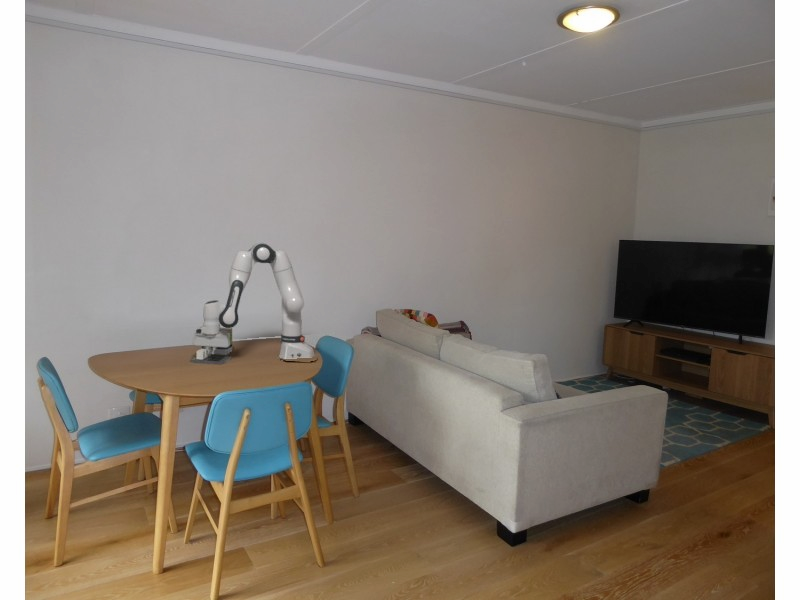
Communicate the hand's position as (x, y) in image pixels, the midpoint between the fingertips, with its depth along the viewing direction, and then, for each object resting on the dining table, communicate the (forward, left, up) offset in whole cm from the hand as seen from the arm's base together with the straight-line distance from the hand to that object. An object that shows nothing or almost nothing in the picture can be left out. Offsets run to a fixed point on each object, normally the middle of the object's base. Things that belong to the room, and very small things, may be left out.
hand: (211, 354), depth 306 cm
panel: (0, 0, -4) cm, 4 cm away
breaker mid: (+4, 0, -2) cm, 4 cm away
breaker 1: (+4, +5, -2) cm, 6 cm away
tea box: (+4, -19, -4) cm, 20 cm away
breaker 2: (+4, -5, -2) cm, 6 cm away
